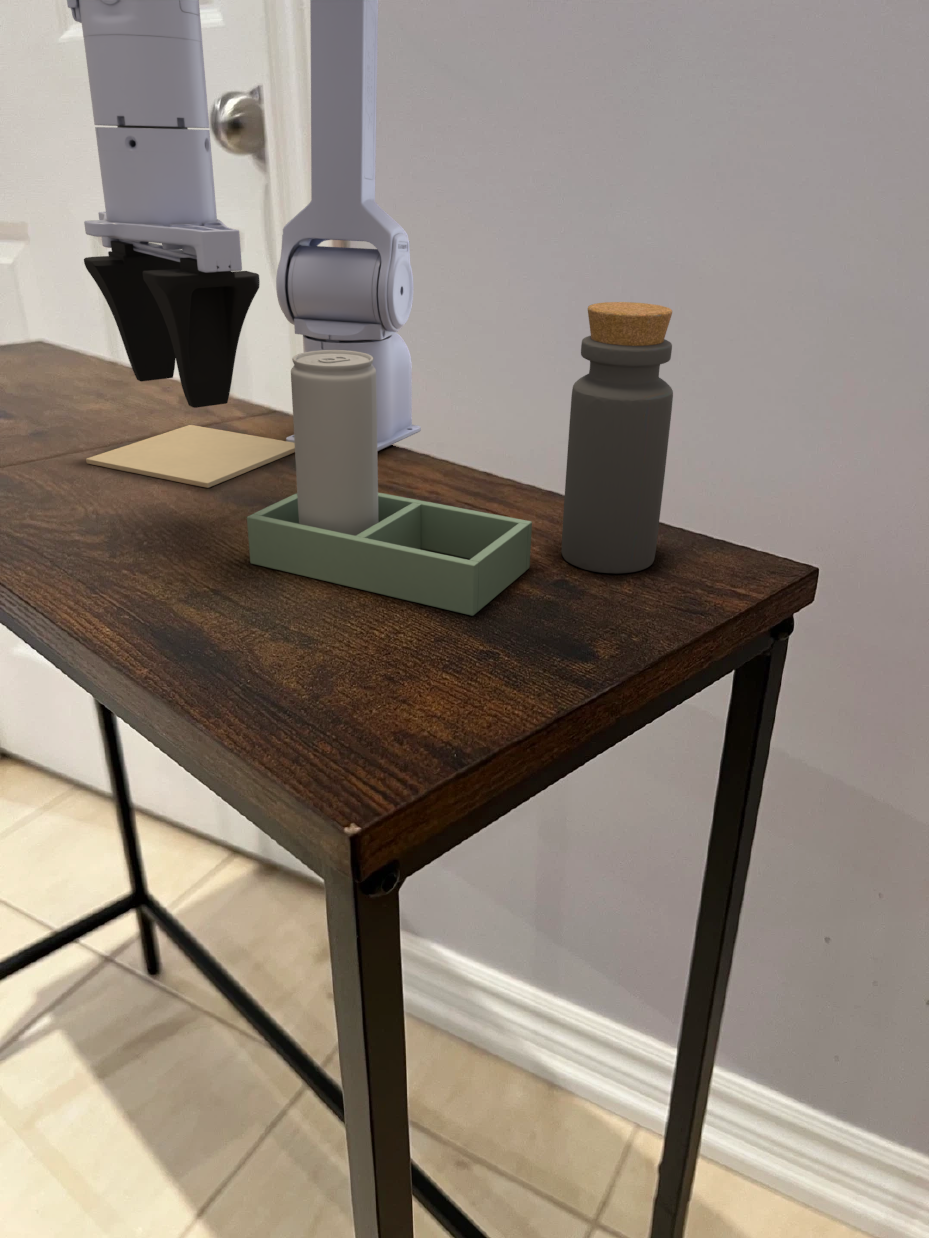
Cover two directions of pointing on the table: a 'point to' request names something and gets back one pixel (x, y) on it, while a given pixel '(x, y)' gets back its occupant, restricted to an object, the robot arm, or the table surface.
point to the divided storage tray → (400, 551)
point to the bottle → (618, 440)
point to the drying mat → (195, 455)
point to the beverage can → (335, 440)
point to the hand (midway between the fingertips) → (180, 391)
